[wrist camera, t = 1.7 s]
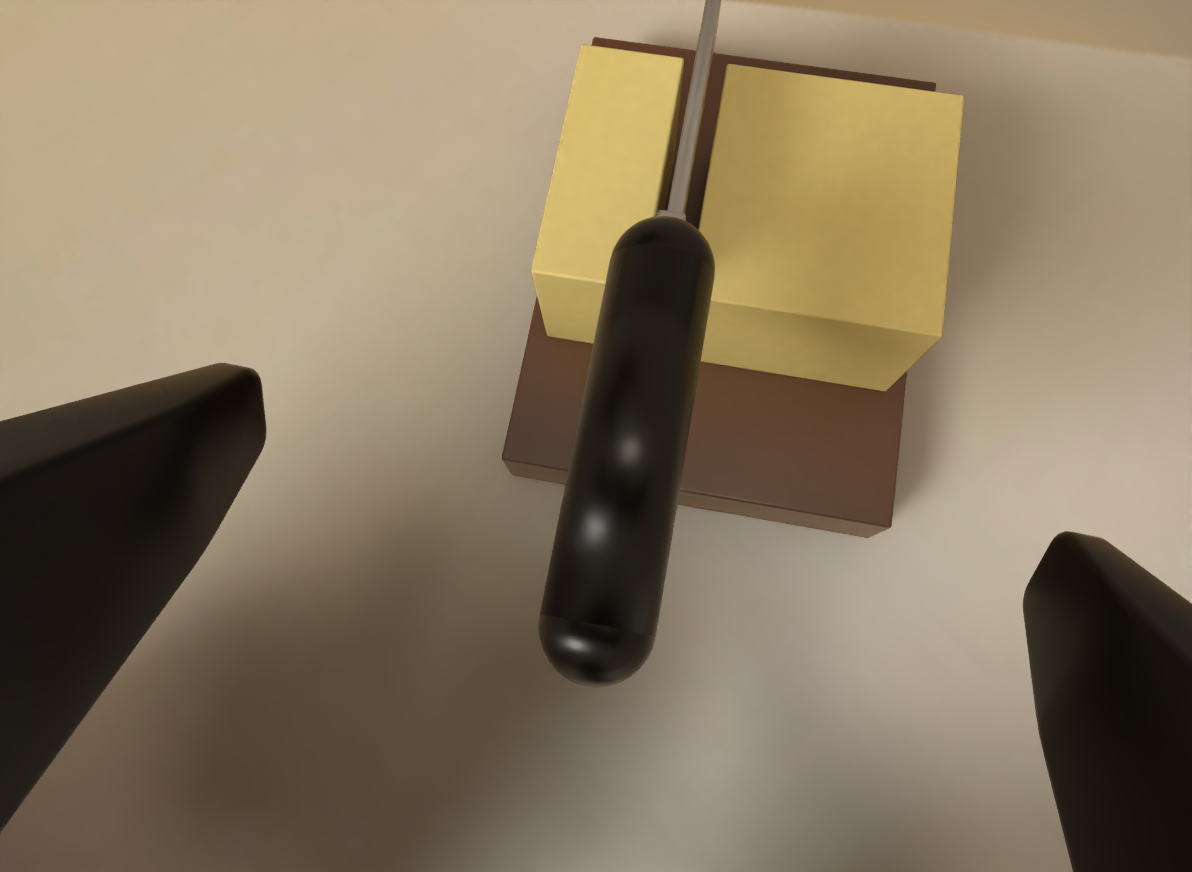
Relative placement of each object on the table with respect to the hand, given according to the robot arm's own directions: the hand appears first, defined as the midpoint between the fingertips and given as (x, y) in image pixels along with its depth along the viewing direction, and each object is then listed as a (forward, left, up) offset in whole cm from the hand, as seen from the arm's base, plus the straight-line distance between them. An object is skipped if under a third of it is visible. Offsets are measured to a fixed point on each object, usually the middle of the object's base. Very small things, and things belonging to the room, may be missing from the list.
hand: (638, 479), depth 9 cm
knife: (+4, +3, -8) cm, 9 cm away
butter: (+8, +3, -12) cm, 15 cm away
